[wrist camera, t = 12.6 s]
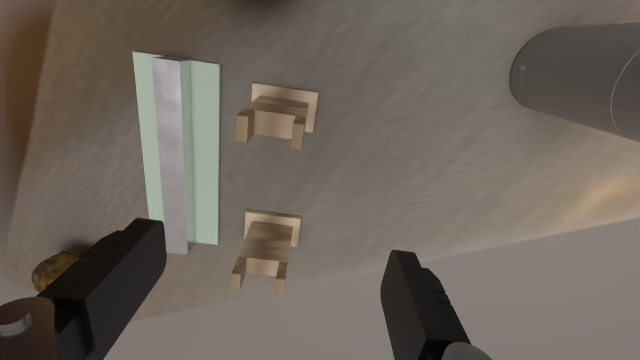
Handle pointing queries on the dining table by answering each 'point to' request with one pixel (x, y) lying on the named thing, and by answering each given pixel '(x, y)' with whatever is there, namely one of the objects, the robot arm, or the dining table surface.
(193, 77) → the mat
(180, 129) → the rail
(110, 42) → the dining table surface
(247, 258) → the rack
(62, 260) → the potato
